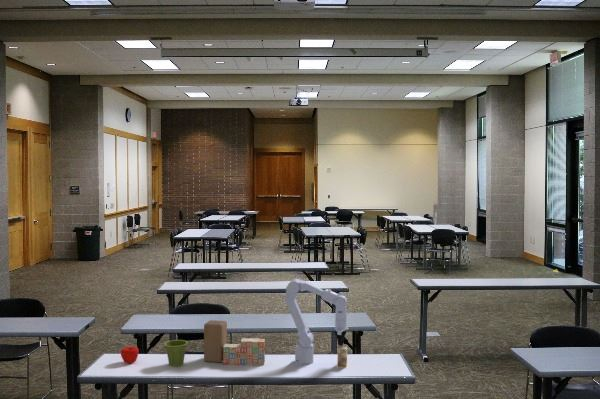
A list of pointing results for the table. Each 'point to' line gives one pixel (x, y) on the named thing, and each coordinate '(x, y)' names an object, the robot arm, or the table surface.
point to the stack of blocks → (245, 352)
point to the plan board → (342, 367)
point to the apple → (129, 354)
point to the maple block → (342, 352)
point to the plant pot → (176, 351)
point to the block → (214, 340)
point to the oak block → (342, 362)
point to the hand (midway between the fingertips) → (340, 345)
